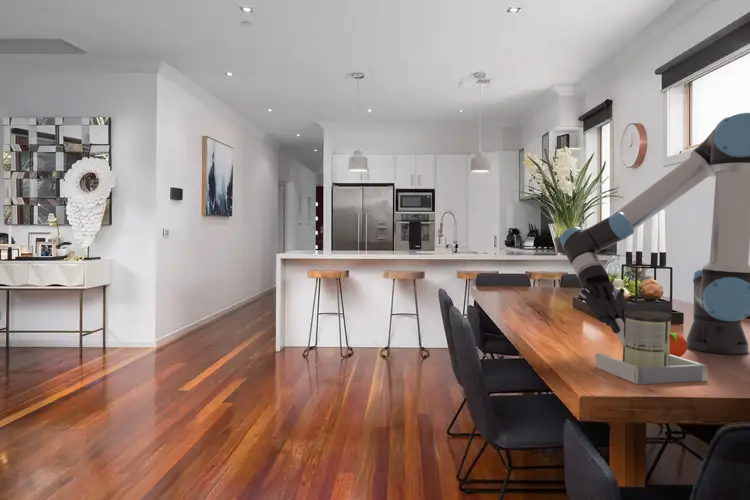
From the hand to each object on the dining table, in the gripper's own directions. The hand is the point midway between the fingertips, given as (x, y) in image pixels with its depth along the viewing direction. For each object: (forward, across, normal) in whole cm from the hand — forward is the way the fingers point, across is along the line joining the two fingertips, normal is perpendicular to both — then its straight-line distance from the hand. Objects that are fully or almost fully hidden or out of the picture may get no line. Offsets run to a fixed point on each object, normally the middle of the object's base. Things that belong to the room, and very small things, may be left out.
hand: (627, 342), depth 132 cm
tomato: (0, -18, -8) cm, 20 cm away
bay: (+9, 0, +1) cm, 9 cm away
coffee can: (+8, -1, 0) cm, 8 cm away
